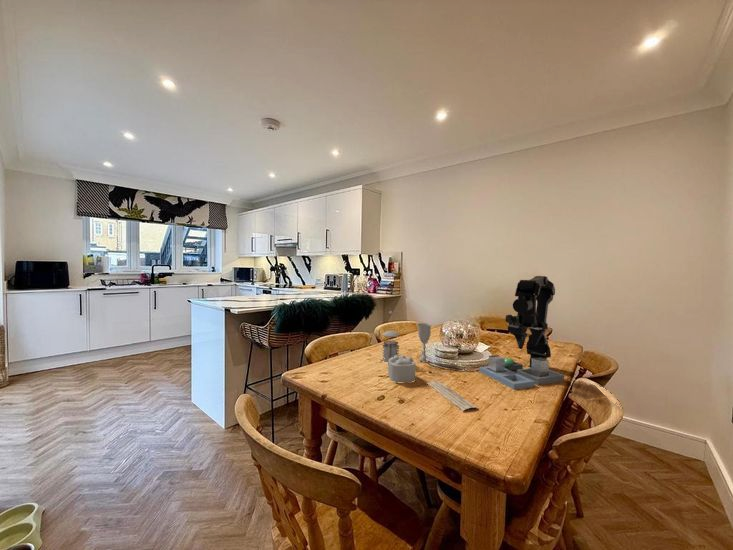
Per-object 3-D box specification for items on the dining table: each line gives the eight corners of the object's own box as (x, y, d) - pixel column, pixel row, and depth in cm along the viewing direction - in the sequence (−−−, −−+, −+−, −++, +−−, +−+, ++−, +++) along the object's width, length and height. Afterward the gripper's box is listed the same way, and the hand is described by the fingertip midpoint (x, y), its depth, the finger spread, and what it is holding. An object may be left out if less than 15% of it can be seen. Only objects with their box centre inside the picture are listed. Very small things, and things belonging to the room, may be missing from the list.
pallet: (497, 370, 136) (497, 365, 136) (534, 387, 117) (534, 381, 117) (478, 372, 133) (479, 367, 133) (513, 390, 114) (513, 384, 114)
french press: (400, 359, 152) (401, 309, 151) (401, 367, 140) (401, 313, 139) (381, 358, 153) (381, 309, 152) (379, 366, 141) (380, 312, 140)
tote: (541, 373, 132) (541, 366, 132) (564, 382, 122) (564, 375, 122) (516, 376, 128) (516, 369, 128) (537, 386, 118) (537, 378, 118)
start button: (508, 364, 140) (509, 357, 140) (515, 367, 136) (515, 360, 136) (501, 365, 139) (501, 358, 139) (508, 367, 135) (508, 361, 135)
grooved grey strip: (426, 386, 119) (426, 381, 119) (442, 384, 122) (442, 380, 122) (463, 414, 97) (463, 408, 97) (481, 411, 99) (481, 405, 99)
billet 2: (539, 376, 128) (539, 356, 128) (548, 379, 124) (548, 359, 124) (531, 377, 127) (531, 357, 126) (540, 380, 122) (540, 360, 122)
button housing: (509, 365, 143) (509, 359, 143) (522, 371, 135) (522, 364, 135) (495, 367, 140) (495, 360, 140) (507, 373, 133) (508, 366, 133)
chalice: (427, 364, 144) (427, 326, 144) (414, 361, 149) (414, 324, 148) (433, 360, 150) (434, 324, 150) (421, 357, 154) (421, 322, 154)
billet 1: (497, 373, 132) (497, 354, 132) (504, 376, 128) (504, 357, 128) (488, 374, 131) (488, 355, 131) (495, 378, 127) (496, 358, 127)
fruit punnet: (392, 384, 120) (392, 362, 120) (385, 372, 133) (385, 353, 133) (417, 382, 122) (417, 361, 121) (408, 371, 134) (408, 352, 134)
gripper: (523, 306, 137) (523, 340, 138) (496, 309, 128) (496, 345, 129) (548, 309, 127) (548, 345, 128) (520, 313, 118) (520, 352, 119)
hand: (527, 347), depth 126 cm, fingers open, 9 cm apart
